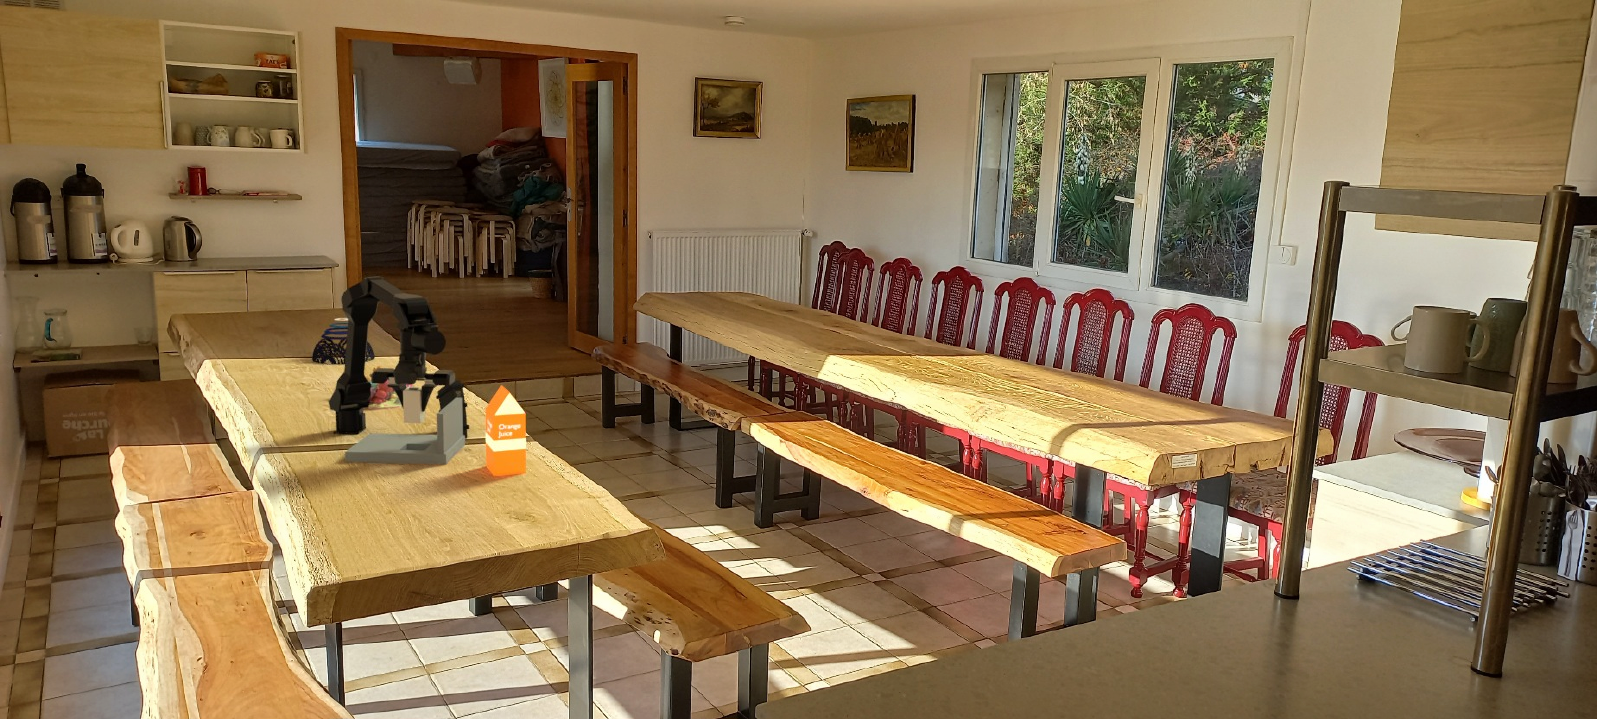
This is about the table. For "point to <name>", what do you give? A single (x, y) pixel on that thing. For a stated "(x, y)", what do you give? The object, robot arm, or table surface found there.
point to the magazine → (449, 395)
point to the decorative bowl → (321, 349)
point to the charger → (413, 405)
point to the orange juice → (505, 435)
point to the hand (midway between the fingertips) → (414, 411)
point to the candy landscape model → (382, 394)
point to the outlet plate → (415, 442)
